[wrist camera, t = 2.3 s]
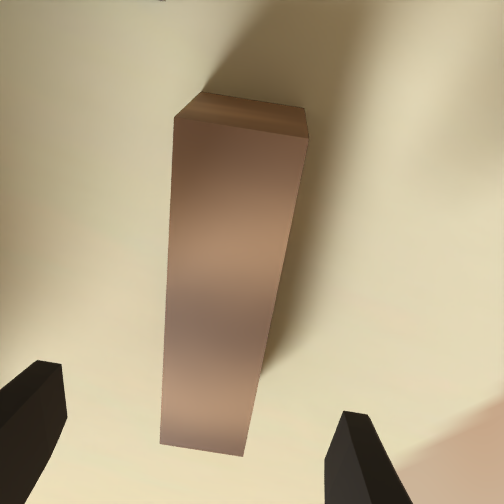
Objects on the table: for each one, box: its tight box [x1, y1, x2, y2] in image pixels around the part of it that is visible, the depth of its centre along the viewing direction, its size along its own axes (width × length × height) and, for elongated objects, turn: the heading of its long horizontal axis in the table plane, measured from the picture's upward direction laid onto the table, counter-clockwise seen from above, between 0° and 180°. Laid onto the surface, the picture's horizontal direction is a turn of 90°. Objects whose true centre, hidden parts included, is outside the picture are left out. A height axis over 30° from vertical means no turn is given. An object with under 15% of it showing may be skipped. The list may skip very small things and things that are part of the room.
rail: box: [160, 92, 309, 457], centre depth 15 cm, size 13×3×4 cm, turn 172°
